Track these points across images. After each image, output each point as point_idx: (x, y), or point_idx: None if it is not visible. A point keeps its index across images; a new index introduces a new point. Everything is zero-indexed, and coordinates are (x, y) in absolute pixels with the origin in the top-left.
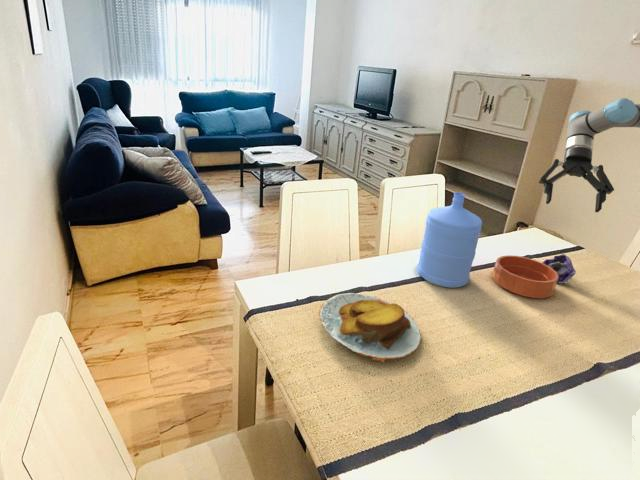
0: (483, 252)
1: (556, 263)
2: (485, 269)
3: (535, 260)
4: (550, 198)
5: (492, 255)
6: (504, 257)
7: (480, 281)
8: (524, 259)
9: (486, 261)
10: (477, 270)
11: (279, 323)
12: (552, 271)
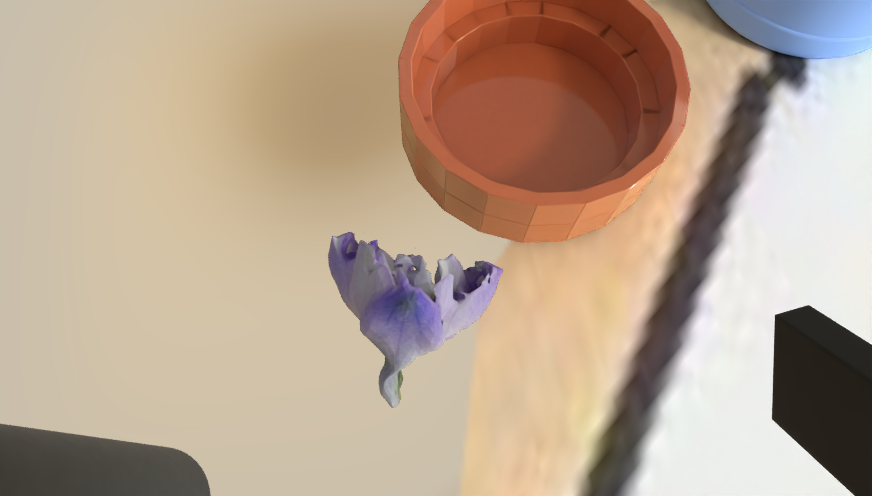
0: None
1: (430, 286)
2: (700, 160)
3: (532, 200)
4: (811, 328)
5: (753, 364)
6: (669, 122)
7: None
8: (583, 192)
9: (738, 255)
10: (721, 124)
11: None
12: (432, 135)
